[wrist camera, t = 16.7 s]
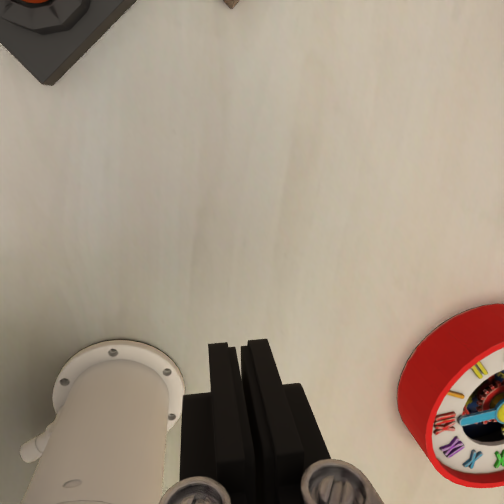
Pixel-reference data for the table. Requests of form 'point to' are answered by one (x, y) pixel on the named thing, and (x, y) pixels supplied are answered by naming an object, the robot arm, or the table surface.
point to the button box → (55, 32)
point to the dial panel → (231, 3)
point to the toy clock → (459, 397)
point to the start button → (35, 1)
